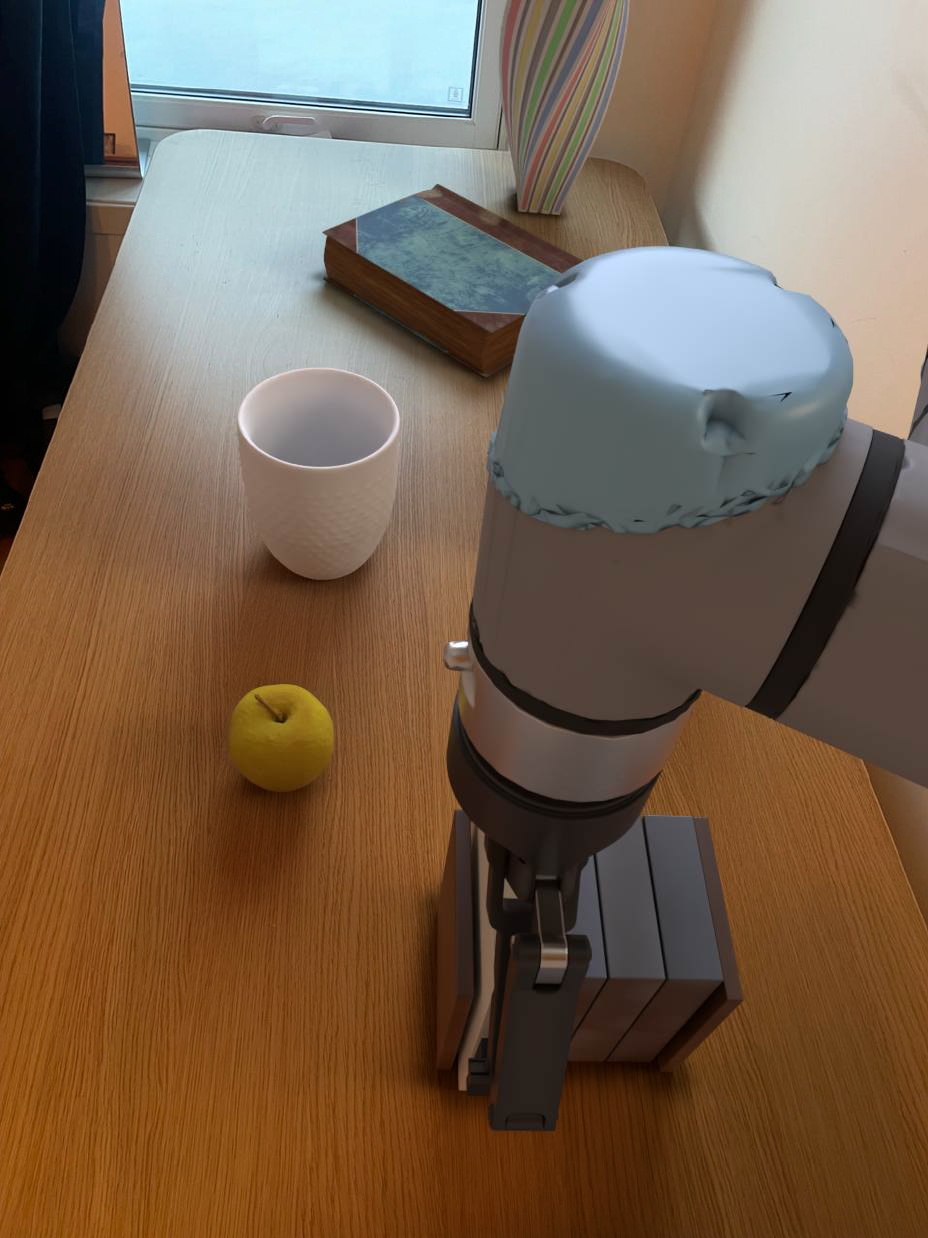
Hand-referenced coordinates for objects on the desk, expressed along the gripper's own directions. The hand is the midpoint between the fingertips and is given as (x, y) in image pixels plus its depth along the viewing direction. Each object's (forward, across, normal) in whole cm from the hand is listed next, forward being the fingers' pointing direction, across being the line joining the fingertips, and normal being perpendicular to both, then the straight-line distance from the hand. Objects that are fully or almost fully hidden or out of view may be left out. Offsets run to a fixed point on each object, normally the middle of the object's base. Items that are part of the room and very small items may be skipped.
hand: (490, 943), depth 48 cm
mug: (+6, -34, -11) cm, 36 cm away
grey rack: (+6, 0, +4) cm, 7 cm away
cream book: (+6, 0, 0) cm, 6 cm away
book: (+6, -71, 0) cm, 71 cm away
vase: (+6, -92, +9) cm, 93 cm away
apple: (+6, -13, -12) cm, 19 cm away
